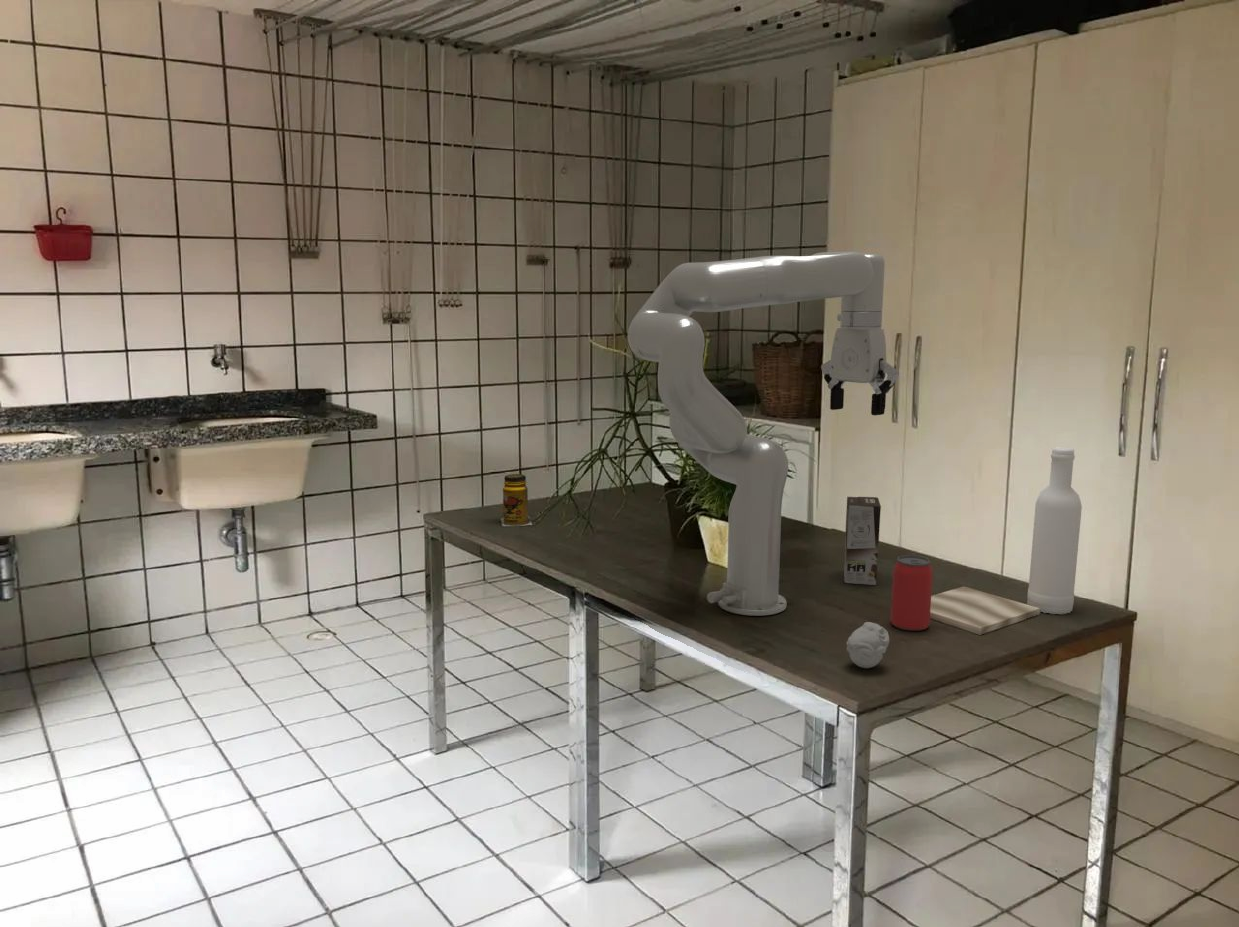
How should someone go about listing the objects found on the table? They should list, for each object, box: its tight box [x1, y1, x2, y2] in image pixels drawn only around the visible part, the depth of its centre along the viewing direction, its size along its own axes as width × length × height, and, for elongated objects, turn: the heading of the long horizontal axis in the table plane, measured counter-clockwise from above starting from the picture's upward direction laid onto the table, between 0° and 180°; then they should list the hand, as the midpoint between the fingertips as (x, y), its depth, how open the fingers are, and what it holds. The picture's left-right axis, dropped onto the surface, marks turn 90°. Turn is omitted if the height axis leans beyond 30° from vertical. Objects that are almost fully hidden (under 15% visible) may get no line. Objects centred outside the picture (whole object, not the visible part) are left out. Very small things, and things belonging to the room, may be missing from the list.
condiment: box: [500, 473, 533, 527], centre depth 247 cm, size 7×8×12 cm
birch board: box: [930, 585, 1041, 636], centre depth 182 cm, size 18×16×1 cm
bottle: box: [1026, 446, 1083, 615], centre depth 182 cm, size 8×8×30 cm
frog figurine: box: [846, 621, 890, 669], centre depth 156 cm, size 6×7×7 cm
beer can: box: [890, 555, 934, 632], centre depth 174 cm, size 7×7×12 cm
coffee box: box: [843, 496, 882, 586], centre depth 202 cm, size 9×6×16 cm
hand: (856, 411), depth 190 cm, fingers open, 9 cm apart
